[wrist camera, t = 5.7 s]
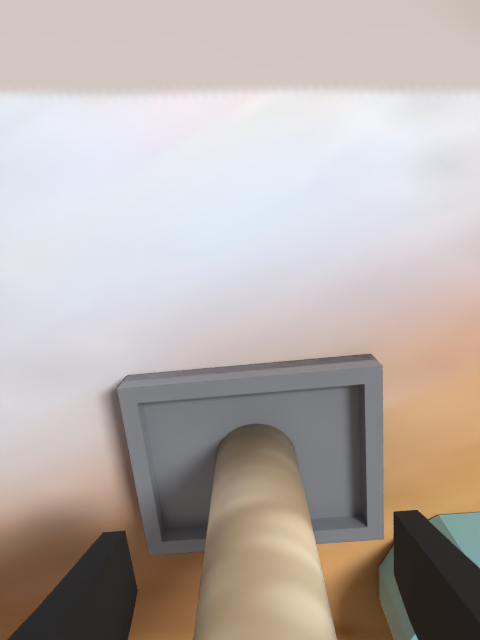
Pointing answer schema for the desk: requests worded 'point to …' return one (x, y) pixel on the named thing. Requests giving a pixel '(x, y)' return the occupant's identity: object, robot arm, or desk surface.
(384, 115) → the desk surface
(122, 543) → the robot arm
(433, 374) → the desk surface
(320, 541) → the tray
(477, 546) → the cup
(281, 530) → the pin
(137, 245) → the desk surface
